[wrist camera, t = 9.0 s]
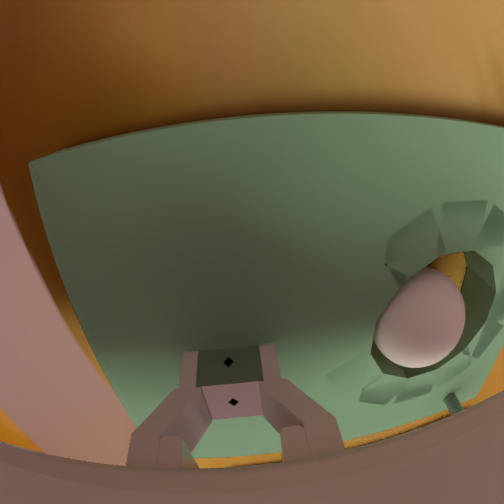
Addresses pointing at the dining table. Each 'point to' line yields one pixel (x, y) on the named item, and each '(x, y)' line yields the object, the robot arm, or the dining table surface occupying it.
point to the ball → (421, 320)
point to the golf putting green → (279, 255)
